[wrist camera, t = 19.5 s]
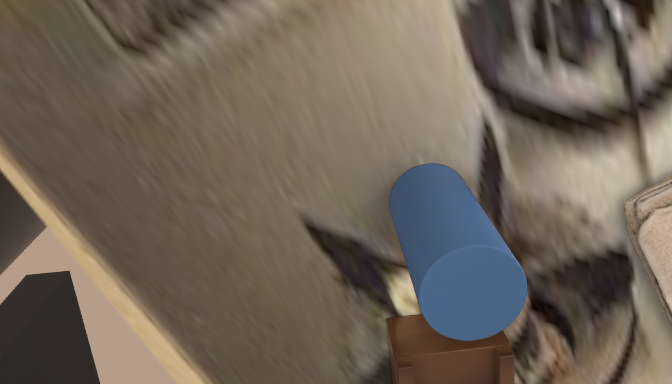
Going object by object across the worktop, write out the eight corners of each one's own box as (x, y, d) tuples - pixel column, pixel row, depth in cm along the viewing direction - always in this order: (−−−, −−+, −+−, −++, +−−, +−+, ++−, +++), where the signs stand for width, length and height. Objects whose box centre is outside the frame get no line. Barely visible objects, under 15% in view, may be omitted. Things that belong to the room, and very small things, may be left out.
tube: (527, 335, 33) (527, 239, 31) (421, 346, 33) (415, 252, 31) (469, 232, 45) (467, 158, 43) (392, 241, 45) (386, 167, 43)
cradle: (386, 318, 48) (396, 368, 42) (491, 306, 48) (515, 355, 42) (393, 402, 50) (404, 461, 45) (492, 391, 50) (516, 448, 45)
